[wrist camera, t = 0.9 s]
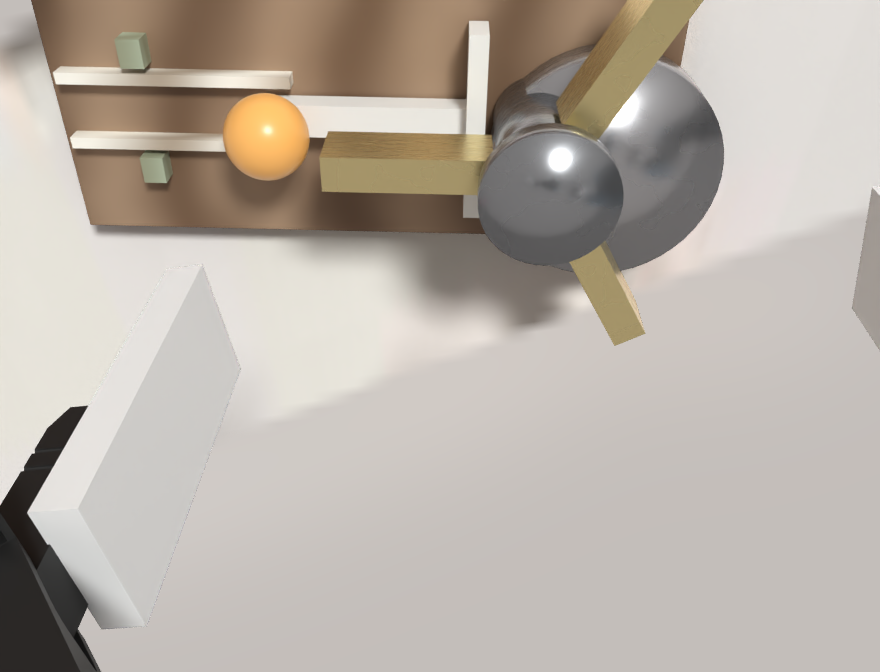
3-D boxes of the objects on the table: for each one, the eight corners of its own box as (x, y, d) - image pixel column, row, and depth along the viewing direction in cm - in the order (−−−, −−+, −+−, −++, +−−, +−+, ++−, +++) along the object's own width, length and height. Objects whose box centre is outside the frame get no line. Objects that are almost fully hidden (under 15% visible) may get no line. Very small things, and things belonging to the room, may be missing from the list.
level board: (689, -37, 34) (703, -22, 32) (643, 222, 41) (652, 248, 39) (35, -50, 34) (9, -36, 32) (101, 210, 42) (83, 234, 40)
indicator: (488, 21, 34) (491, 58, 30) (480, 197, 39) (482, 248, 35) (227, 15, 34) (197, 51, 30) (250, 192, 39) (227, 242, 35)
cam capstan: (325, 122, 37) (295, 209, 30) (491, -187, 30) (499, -162, 23) (618, 284, 41) (647, 390, 35) (821, 50, 34) (906, 127, 28)
